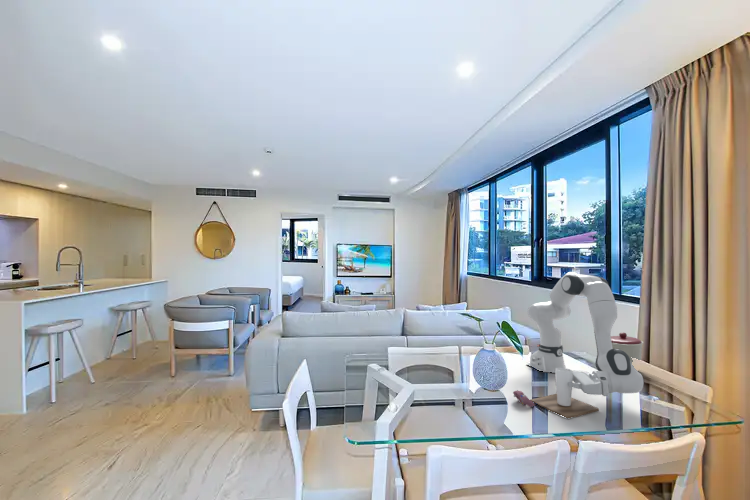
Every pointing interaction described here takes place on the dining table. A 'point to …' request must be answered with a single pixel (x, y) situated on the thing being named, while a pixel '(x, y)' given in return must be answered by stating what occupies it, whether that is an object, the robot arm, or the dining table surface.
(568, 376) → the drinking glass
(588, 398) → the dining table surface
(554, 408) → the walnut board
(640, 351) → the canister
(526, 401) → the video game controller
